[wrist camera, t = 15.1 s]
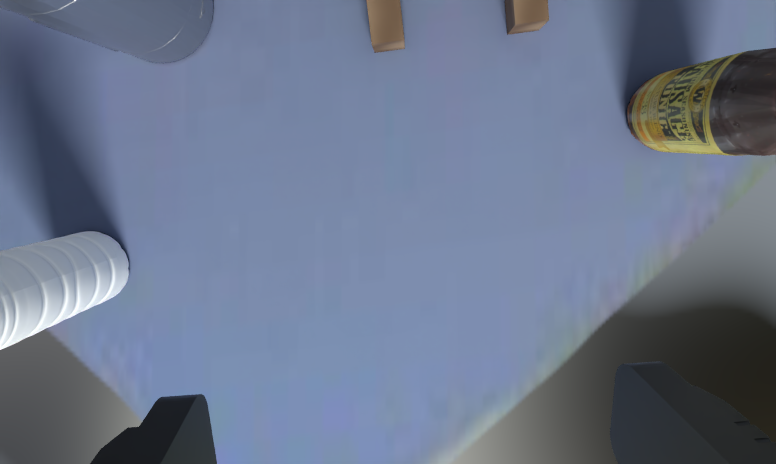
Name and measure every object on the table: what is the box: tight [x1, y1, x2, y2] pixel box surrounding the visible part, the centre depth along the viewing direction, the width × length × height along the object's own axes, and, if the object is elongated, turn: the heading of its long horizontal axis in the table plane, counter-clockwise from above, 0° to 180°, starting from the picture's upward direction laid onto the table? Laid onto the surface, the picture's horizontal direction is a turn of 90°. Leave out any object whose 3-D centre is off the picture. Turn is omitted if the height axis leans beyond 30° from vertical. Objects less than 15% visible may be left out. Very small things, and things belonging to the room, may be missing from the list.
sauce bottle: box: [627, 48, 776, 156], centre depth 30 cm, size 6×6×20 cm
